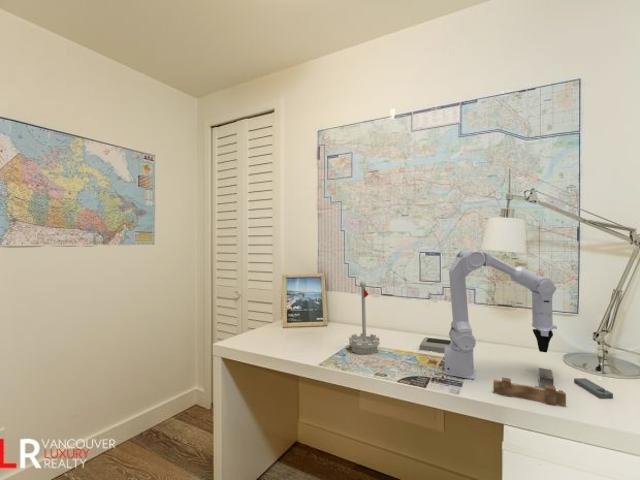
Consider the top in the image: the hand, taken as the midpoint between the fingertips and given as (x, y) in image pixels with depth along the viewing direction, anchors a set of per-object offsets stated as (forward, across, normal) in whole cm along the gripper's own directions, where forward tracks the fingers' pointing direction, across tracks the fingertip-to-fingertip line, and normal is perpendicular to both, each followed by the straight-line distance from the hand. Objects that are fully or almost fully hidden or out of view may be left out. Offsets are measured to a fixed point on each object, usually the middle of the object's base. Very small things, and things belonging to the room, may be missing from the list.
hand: (543, 351), depth 111 cm
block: (+8, -9, 0) cm, 12 cm away
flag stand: (+8, -4, +65) cm, 65 cm away
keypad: (+9, +12, +36) cm, 39 cm away
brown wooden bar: (+8, -20, +6) cm, 22 cm away
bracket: (+9, -6, -12) cm, 16 cm away
